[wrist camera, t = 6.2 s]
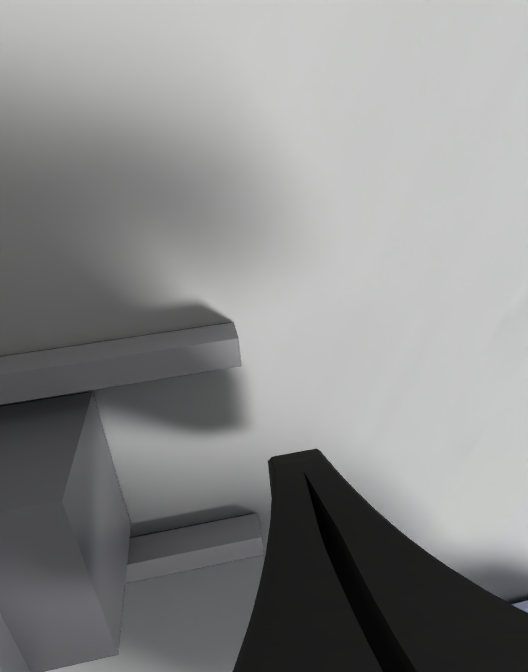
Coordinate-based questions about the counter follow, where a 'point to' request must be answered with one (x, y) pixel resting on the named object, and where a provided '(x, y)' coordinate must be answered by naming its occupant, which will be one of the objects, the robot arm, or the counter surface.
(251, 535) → the mower deck
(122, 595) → the grey block on ledge
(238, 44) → the counter surface
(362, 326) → the counter surface
